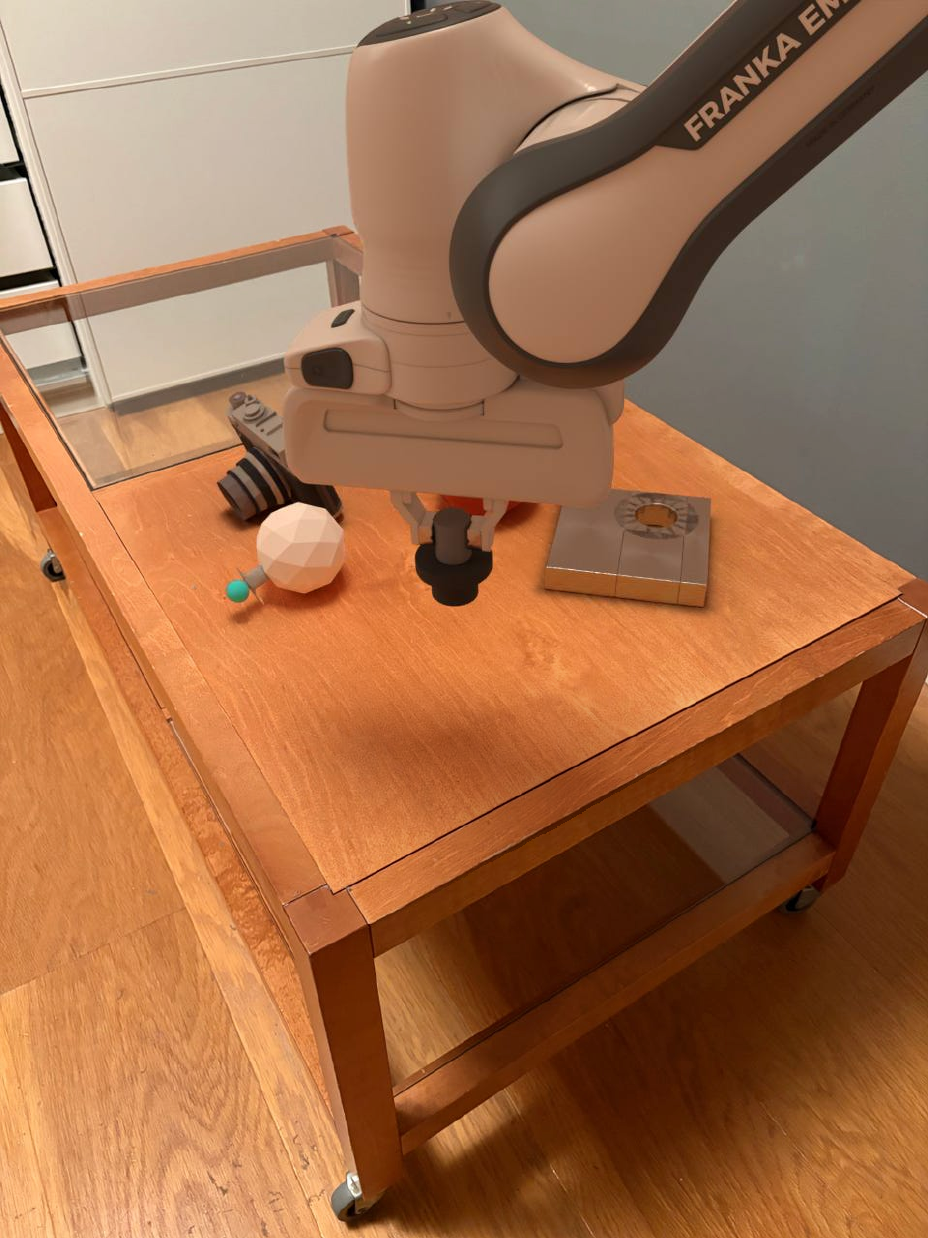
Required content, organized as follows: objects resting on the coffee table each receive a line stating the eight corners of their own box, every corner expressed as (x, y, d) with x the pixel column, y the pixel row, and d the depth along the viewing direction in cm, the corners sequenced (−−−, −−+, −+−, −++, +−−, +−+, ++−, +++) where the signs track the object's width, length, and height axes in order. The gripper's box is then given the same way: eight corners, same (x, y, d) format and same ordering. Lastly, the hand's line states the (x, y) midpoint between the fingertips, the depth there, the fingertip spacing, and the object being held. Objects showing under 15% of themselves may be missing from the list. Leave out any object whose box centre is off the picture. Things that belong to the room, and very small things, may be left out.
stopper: (499, 573, 67) (498, 498, 63) (485, 620, 63) (483, 543, 59) (427, 566, 67) (422, 492, 63) (409, 612, 64) (402, 535, 60)
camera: (211, 493, 102) (167, 421, 95) (276, 450, 104) (238, 375, 97) (281, 561, 92) (238, 486, 85) (351, 511, 94) (314, 434, 87)
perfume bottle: (378, 554, 84) (272, 631, 78) (340, 564, 91) (241, 636, 85) (329, 478, 82) (218, 552, 76) (295, 495, 89) (190, 564, 83)
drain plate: (707, 519, 93) (711, 497, 92) (703, 607, 83) (707, 585, 81) (566, 505, 96) (567, 484, 94) (544, 589, 85) (545, 567, 84)
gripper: (632, 330, 54) (615, 530, 63) (294, 312, 58) (323, 504, 67) (623, 379, 49) (606, 588, 58) (255, 356, 53) (292, 556, 62)
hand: (452, 543), depth 62 cm, fingers closed on stopper, 2 cm apart
